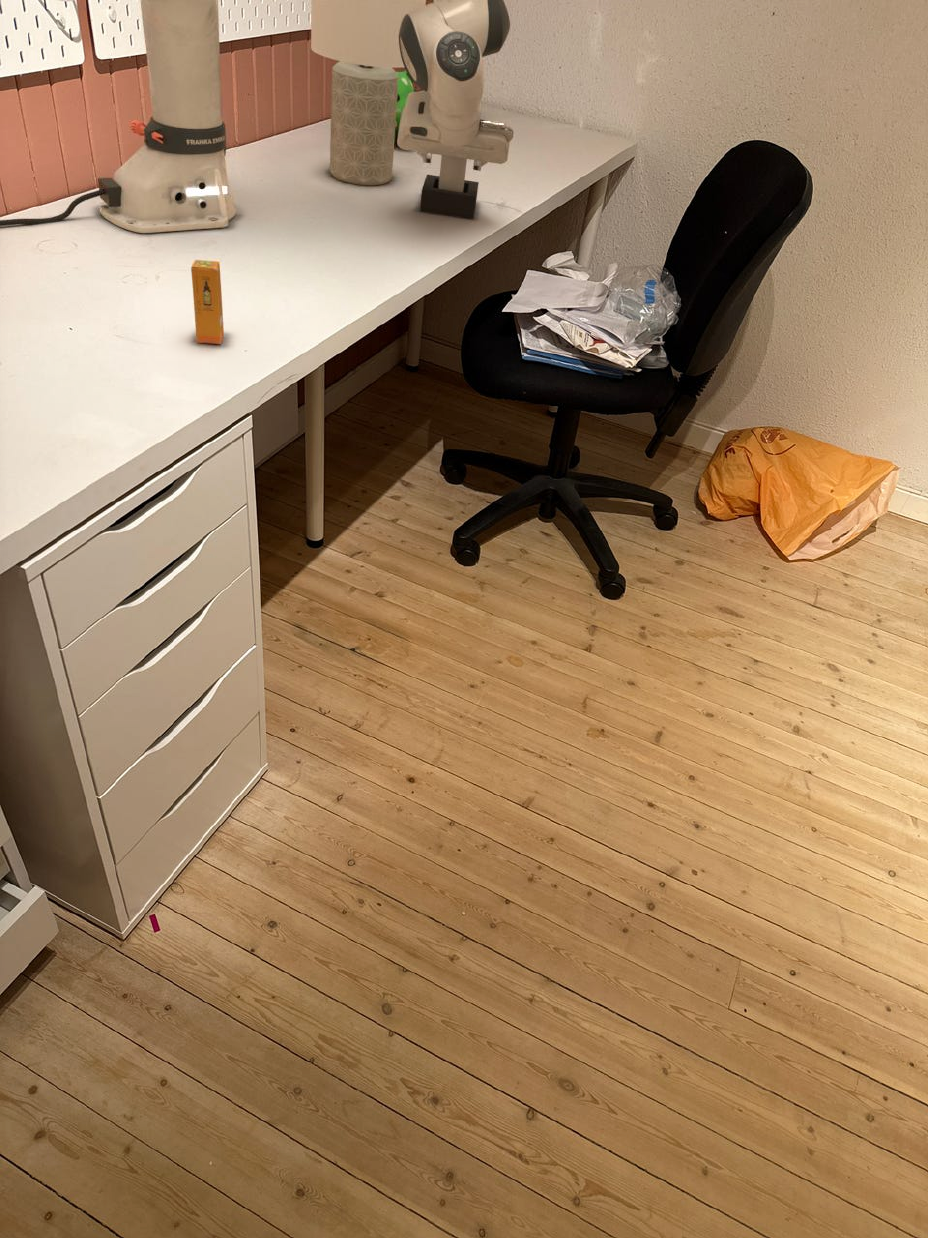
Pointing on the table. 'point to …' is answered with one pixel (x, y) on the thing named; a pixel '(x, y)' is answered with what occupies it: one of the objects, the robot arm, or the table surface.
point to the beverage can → (452, 173)
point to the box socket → (448, 199)
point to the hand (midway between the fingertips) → (452, 163)
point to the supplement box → (207, 301)
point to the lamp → (361, 82)
